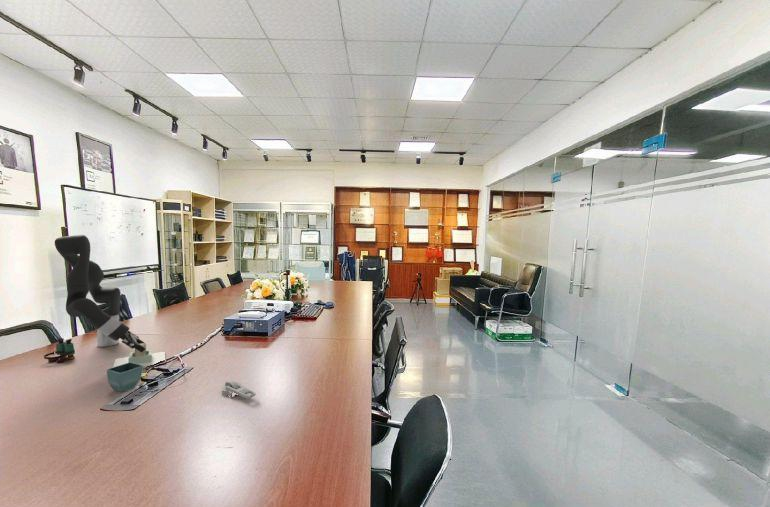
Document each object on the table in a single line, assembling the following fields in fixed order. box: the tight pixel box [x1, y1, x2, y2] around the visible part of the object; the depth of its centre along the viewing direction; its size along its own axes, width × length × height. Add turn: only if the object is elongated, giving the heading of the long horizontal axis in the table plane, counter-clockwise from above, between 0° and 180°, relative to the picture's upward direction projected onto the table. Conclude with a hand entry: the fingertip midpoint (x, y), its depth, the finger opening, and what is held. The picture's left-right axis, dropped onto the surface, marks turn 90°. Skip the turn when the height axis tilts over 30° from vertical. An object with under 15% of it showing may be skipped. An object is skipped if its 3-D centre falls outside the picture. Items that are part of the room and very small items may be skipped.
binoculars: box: [43, 337, 76, 364], centre depth 150 cm, size 9×11×10 cm
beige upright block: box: [134, 342, 147, 356], centre depth 151 cm, size 4×4×8 cm
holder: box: [112, 349, 166, 369], centre depth 151 cm, size 18×20×4 cm
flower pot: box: [106, 362, 144, 393], centre depth 125 cm, size 9×9×9 cm
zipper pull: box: [221, 380, 256, 400], centre depth 122 cm, size 8×18×4 cm, turn 57°
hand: (144, 348), depth 152 cm, fingers open, 8 cm apart
